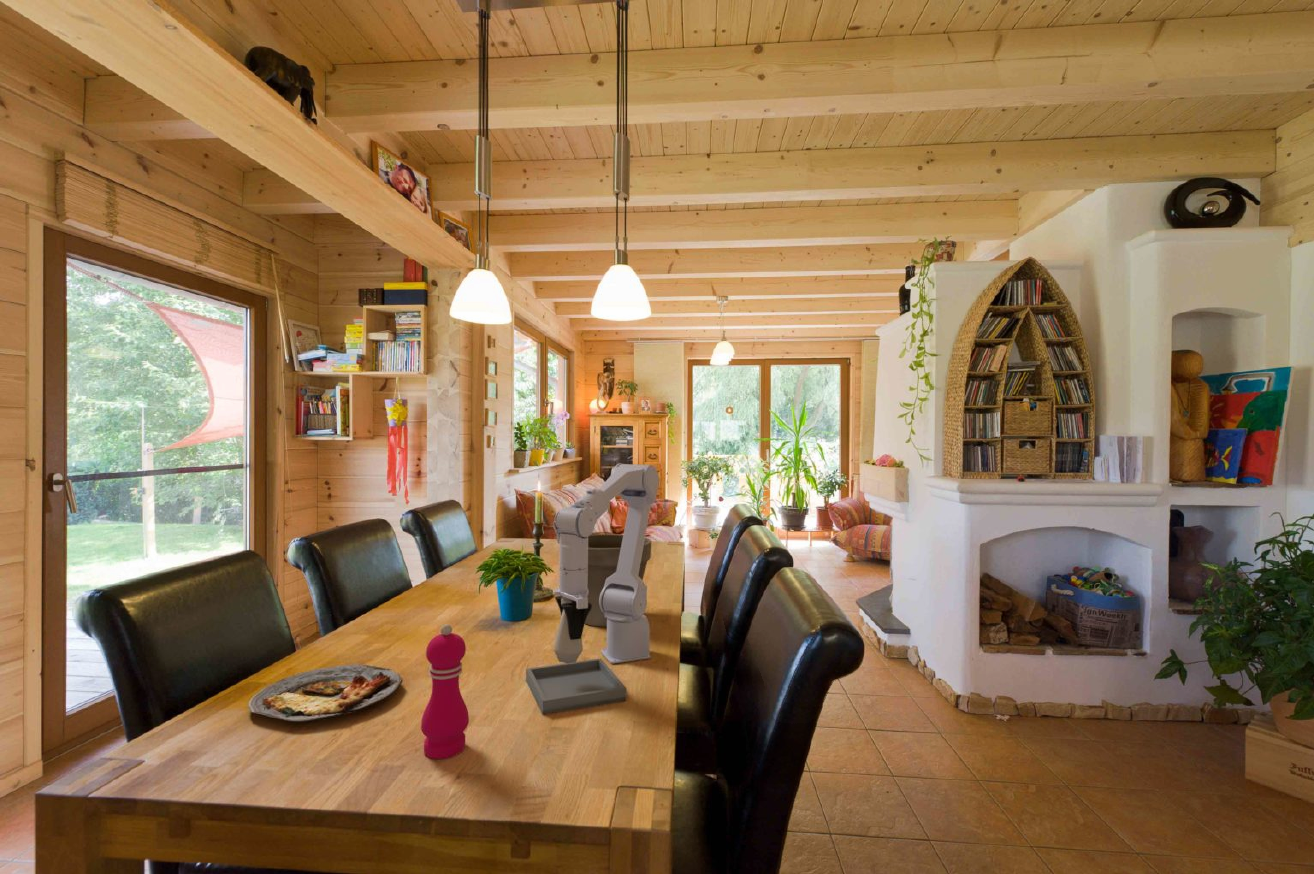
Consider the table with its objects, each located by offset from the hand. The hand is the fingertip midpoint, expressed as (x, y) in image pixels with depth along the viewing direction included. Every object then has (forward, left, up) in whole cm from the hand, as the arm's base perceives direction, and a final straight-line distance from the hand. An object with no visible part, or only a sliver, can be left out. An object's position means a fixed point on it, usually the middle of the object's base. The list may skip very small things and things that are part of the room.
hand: (572, 635), depth 121 cm
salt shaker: (+1, -1, -5) cm, 5 cm away
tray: (0, +2, -10) cm, 11 cm away
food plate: (+44, -11, -11) cm, 47 cm away
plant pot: (-20, -40, -11) cm, 46 cm away
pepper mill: (+25, +16, -11) cm, 31 cm away
